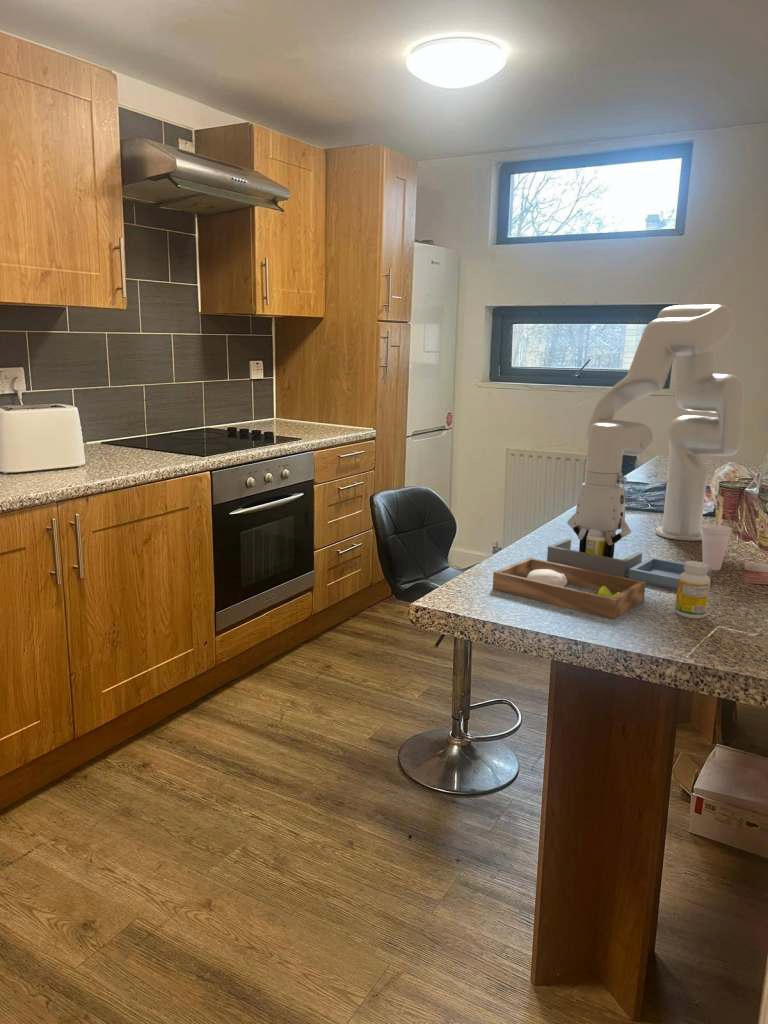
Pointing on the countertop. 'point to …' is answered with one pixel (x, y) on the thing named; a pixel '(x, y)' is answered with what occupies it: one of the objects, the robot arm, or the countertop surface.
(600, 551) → the supplement bottle
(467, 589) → the countertop surface
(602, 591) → the plate of lemons
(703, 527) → the smoothie
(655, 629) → the countertop surface
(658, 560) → the tray
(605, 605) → the wooden rectangular frame
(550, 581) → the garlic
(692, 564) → the supplement bottle
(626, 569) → the bay
